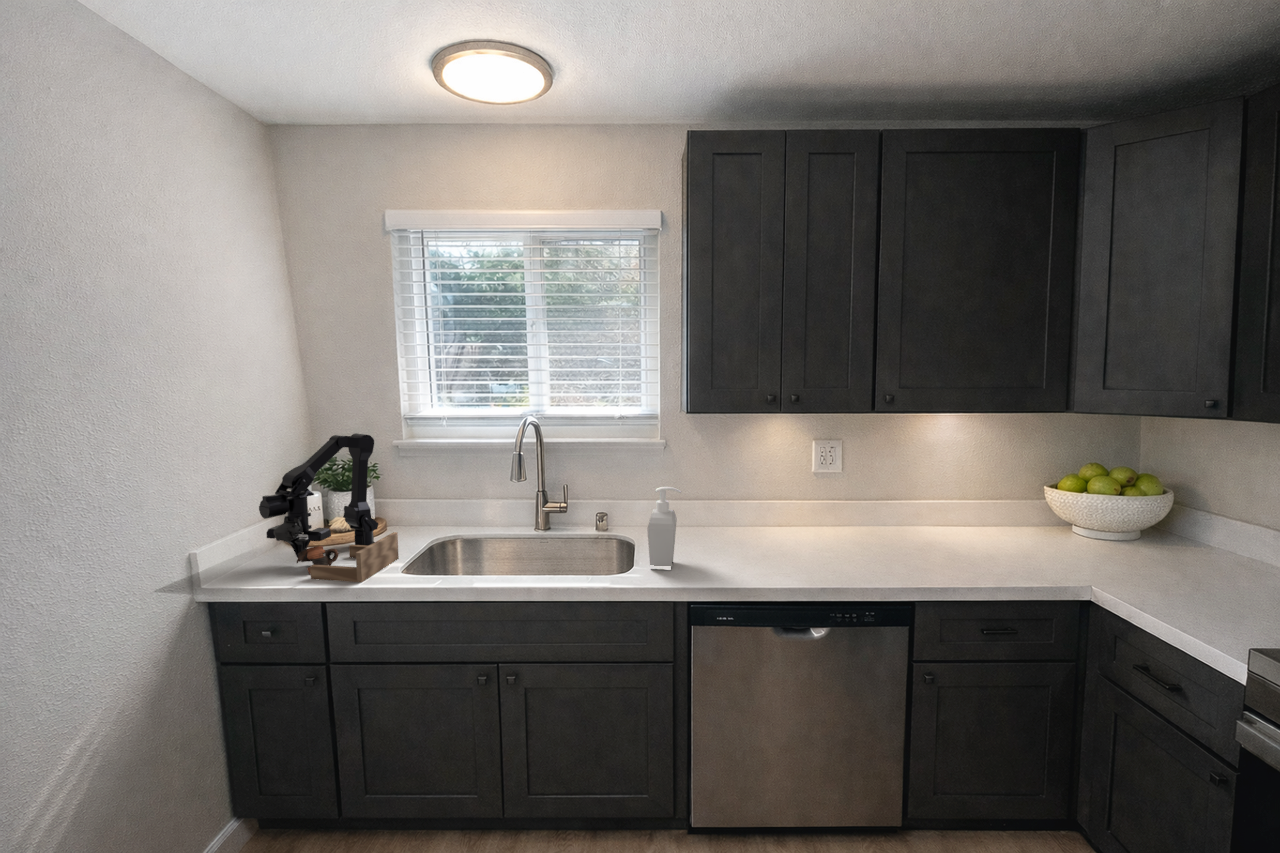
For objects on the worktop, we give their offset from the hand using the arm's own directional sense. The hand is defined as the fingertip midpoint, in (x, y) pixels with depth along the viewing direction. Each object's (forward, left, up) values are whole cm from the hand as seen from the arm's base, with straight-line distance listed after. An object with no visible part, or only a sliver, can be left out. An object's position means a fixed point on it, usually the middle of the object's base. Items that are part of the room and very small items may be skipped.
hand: (300, 559), depth 198 cm
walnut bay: (0, +19, -2) cm, 19 cm away
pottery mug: (+2, +8, -2) cm, 8 cm away
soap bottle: (-18, +115, -2) cm, 116 cm away
